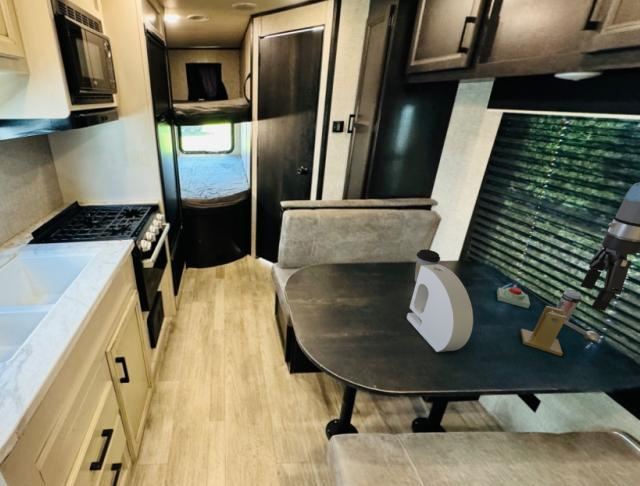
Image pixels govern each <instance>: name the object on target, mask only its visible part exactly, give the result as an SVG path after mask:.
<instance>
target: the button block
mask: <svg viewBox="0 0 640 486" xmlns="http://www.w3.org/2000/svg"><path fill="white" fill-rule="evenodd" d="M510 289H511V287H505V288H503V287H498V288H497V290H496V295H497V296H496V297H497V301H499V302H503V303H507V304H510V305H514V306H518V307H521V308H525V309H529V307H530V305H531V302H530V297H529V295H528V294H526V293H525V292H524V291H522V292H521V294H520V295H517V294H513V293H511V292H510Z"/></svg>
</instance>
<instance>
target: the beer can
mask: <svg viewBox="0 0 640 486" xmlns="http://www.w3.org/2000/svg"><path fill="white" fill-rule="evenodd" d="M581 300H582V296H581V293H579V292H577V291H574V290H572V289H567V290H565V291H563V293H562V295H561V297H560V299H559V301H558V302H557V305H556V307H555V308H557V309H561V310H564V312H563V314H562V315H563V316H566V320H567V321H568V322H570V320H571V318H572V316H573V313H575V311H576V308H577V307H578V305H579V304H580V301H581Z"/></svg>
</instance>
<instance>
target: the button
mask: <svg viewBox="0 0 640 486" xmlns="http://www.w3.org/2000/svg"><path fill="white" fill-rule="evenodd" d="M510 288H511V289H510V292H511V293H513V294H517V295H520V294H521V292H523V290H522V289H521V288H520V287H516V286H512V287H510Z"/></svg>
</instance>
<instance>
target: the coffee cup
mask: <svg viewBox="0 0 640 486" xmlns="http://www.w3.org/2000/svg"><path fill="white" fill-rule="evenodd" d="M416 257H417V259H416V263H415V273H414V282H415V283H416V282H417V278H418V275H419V271H420V267H421V265H436V264H439V263H438V262H440V261H441V256H440V254H439V253H438V252H437V251H434V250H432V249H425V248H424V249H423V248H422V249H420V250H419V251H417V253H416Z"/></svg>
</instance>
